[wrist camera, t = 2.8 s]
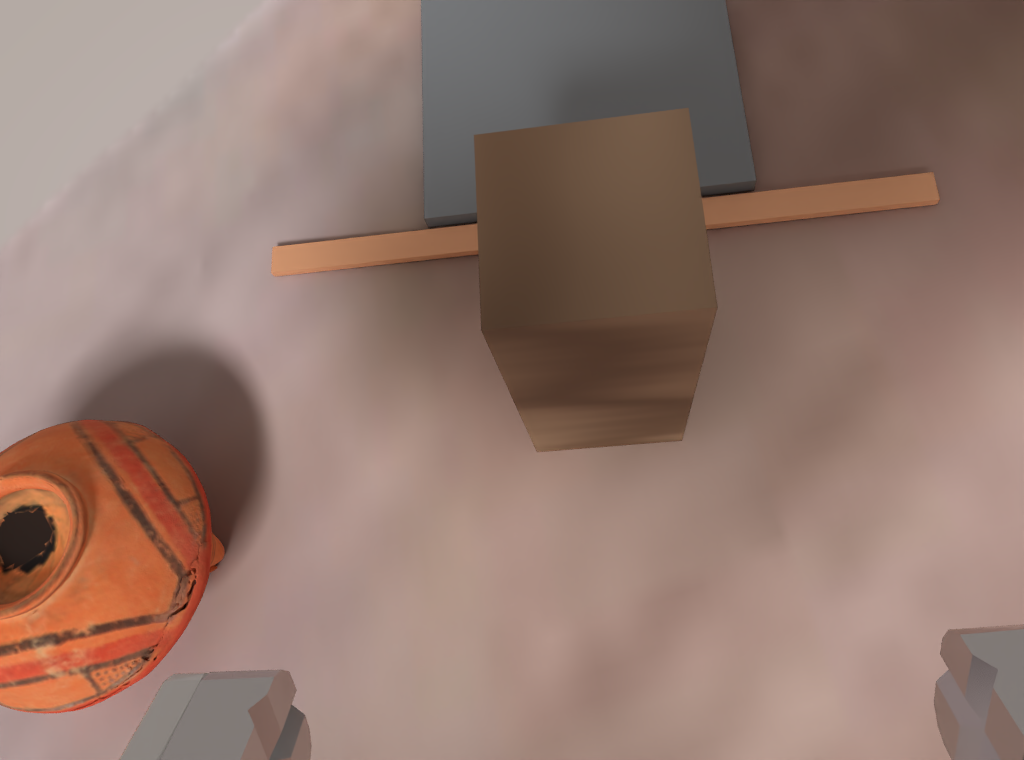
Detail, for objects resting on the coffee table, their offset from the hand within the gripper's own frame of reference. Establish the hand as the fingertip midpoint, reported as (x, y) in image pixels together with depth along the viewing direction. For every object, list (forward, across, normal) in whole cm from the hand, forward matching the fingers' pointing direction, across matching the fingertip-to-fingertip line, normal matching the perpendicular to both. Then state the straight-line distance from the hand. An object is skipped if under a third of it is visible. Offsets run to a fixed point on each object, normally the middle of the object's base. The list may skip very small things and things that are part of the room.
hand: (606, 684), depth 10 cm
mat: (+24, -1, -5) cm, 24 cm away
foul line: (+19, -1, -1) cm, 19 cm away
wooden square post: (+15, 0, +3) cm, 15 cm away
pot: (+12, +14, +7) cm, 20 cm away
